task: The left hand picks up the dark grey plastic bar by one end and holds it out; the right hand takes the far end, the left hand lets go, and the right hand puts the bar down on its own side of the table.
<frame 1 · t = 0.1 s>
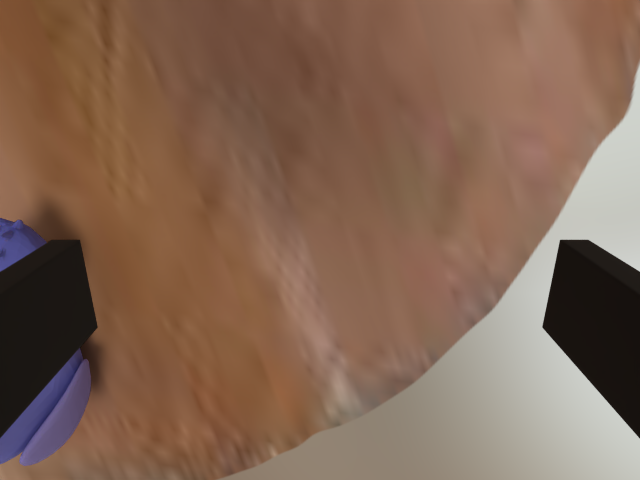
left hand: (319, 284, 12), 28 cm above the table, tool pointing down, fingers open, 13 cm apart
toy: (57, 311, 44), on the table
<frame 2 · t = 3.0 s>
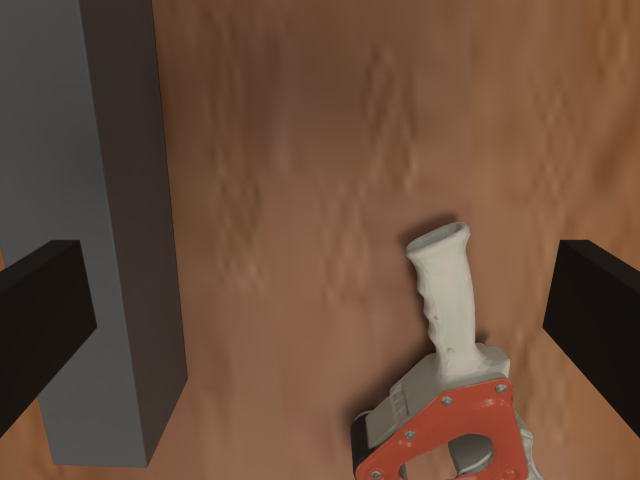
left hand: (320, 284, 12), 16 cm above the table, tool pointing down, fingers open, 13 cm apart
bar: (127, 192, 29), on the table
tape dispenser: (442, 370, 33), on the table
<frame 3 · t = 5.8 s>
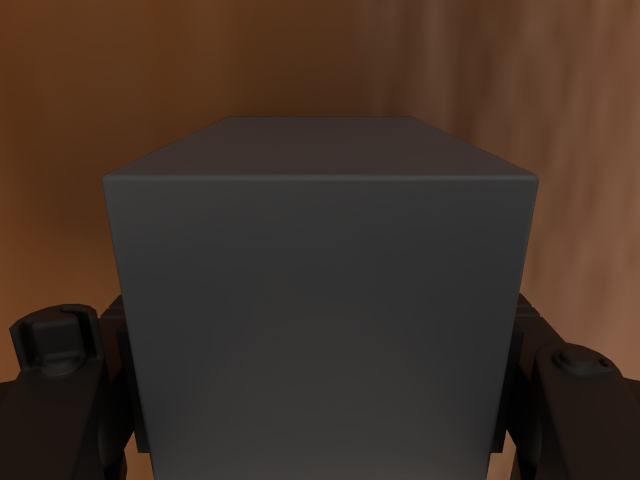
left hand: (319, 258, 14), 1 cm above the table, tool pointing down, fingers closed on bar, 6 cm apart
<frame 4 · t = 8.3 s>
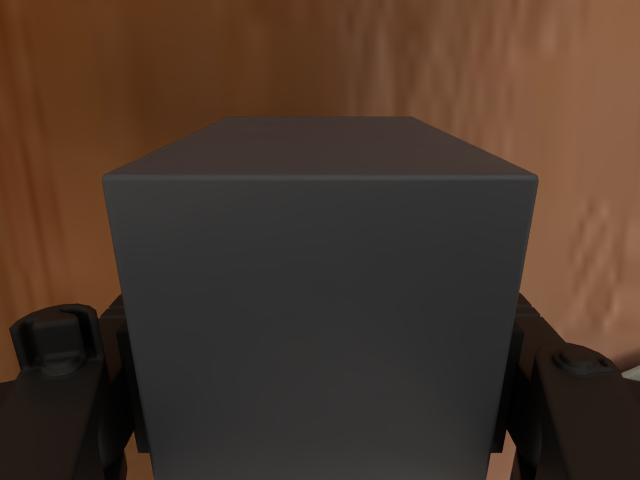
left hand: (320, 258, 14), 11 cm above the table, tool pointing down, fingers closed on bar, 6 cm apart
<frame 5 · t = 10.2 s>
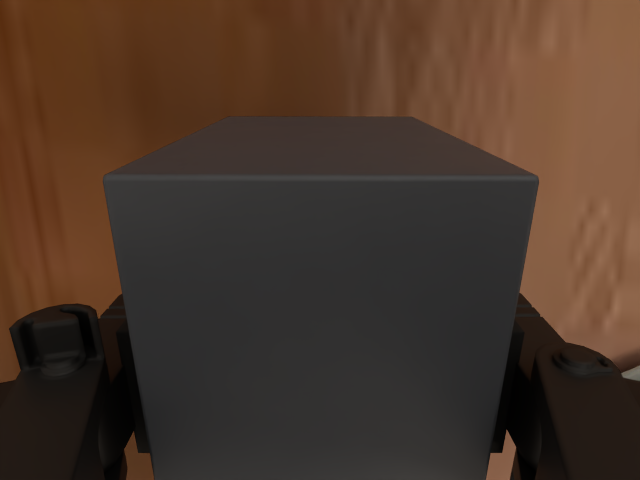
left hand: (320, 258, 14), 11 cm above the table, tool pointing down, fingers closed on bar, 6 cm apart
when the left hand's fingers open (11 cm above the table, at t = 10.9 s): bar stays where it is, held by the right hand.
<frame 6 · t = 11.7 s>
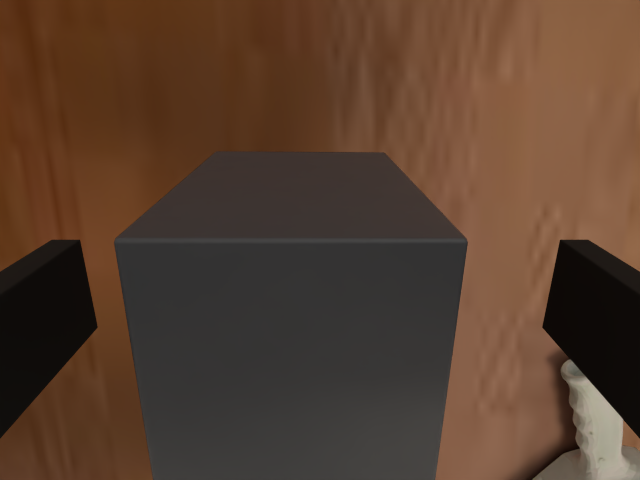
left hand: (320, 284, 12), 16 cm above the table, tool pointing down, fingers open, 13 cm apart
tape dispenser: (574, 463, 36), on the table
when the right hand's fingers open (2 cm above the table, at t = 15.4 s): bar drops 1 cm, on the table.
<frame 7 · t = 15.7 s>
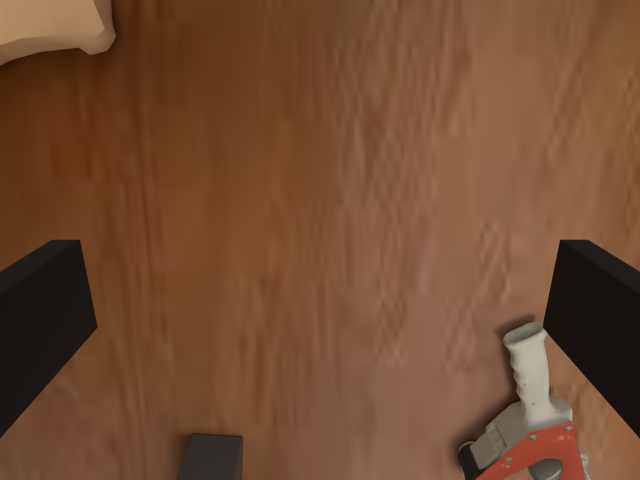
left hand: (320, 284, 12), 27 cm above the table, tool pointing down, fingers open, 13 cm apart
tape dispenser: (520, 412, 48), on the table
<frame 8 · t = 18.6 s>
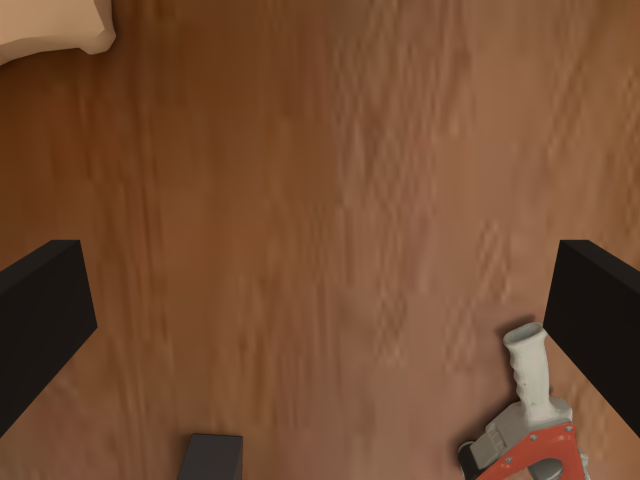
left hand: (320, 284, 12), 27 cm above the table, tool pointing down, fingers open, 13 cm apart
tape dispenser: (520, 412, 48), on the table
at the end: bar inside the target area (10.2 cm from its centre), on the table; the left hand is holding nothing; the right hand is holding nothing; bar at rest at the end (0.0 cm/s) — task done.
